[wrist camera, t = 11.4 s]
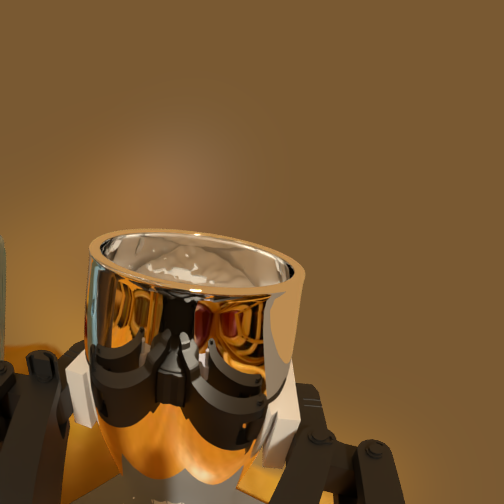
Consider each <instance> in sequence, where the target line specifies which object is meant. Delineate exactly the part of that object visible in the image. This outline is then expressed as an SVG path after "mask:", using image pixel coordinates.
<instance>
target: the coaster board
mask: <svg viewBox="0 0 504 504" xmlns="http://www.w3.org/2000/svg"><path fill="white" fill-rule="evenodd" d="M125 491H126V485H125V481H124V479H123V477H122V475H121V473H120V474H118V475H117V476H115V477H113V478H112V479H110V480H109V481H107V482H106V483H104V484H102V485H101V486H99V487H97V488H96V489H94V490H92V491H91V492H89V493H87V494H86V495H84V496H82V497H80V498H79V499H77V500H75V501H73V502H72V503H70V504H124V497H125ZM232 504H265V503H263V502H261V501H259V500H257V499H255V498H253V497H251V496H249V495H247V494H245V493H243V492H241V491H239V490H237V489H235V490H234V492H233V495H232Z"/></svg>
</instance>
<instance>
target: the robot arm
mask: <svg viewBox="0 0 504 504" xmlns="http://www.w3.org/2000/svg"><path fill="white" fill-rule="evenodd" d="M5 298H6V253H5V248H4V240H3V238H2V236H1V235H0V504H60V502H61V490H62V480H63V471H64V463H65V455H66V448H67V442H68V435H69V429H70V423H69V417H70V416H71V415H72V413H73V414H74V418H75V422H76V423H79V424H81V425H84V426H87V427H89V428H92V427H93V425H94V424H95V422H96V420H97V419H96V416H95V413H94V410H93V407H92V403H91V397H90V392H89V386H88V380H87V374H86V362H85V343H84V340H82V341H80V342H78V343H75V344H74V345H73V346H72V347H71V348H70V349H69V351H67V352H66V353H64V355H62V356H61V357H60V358H59V359H58V360H57V357H56V356H55V354H53V353H52V352H50V351H46V350H37V351H33V352H31V353H29V354H28V355H27V356H26V361H27V366H28V371H29V375H23V374H18V373H15V372H14V368H13V366H12V364H11V363H9V362H7V361H4V336H5V300H6V299H5ZM285 461H286V468H285V470H284V472H283V474H282V476H281V479H280V481H279V483H278V485H277V487H276V489H275V491H274V493H273V495H272V497H271V500H270V502H269V504H319V502H320V499H321V496H322V492H323V491H327V492H331V493H333V498H334V504H405V501H404V497H403V493H402V489H401V485H400V481H399V478H398V474H397V470H396V466H395V463H394V459H393V455H392V452H391V450H390V448H389V447H388V446H387V445H386V444H385V443H383V442H380V441H378V440H373V439H371V440H365V441H363V442H361V443H360V444H359V446H358V447H356V446H352V445H348V444H344V443H341V442H339V441H337V440H336V437H335V435H334V434H333V433H332V432H331V431H330V430H328V429H327V425H326V421H325V417H324V413H323V409H322V404H321V401H320V396H319V392H318V391H317V390H316V388H315V387H314V386H313V385H311V384H301V383H295V378H294V372H293V365H292V359H291V363H290V368H289V372H288V376H287V381H286V385H285V389H284V393H283V396H282V399H281V402H280V405H279V408H278V411H277V414H276V417H275V420H274V423H273V426H272V428H271V430H270V432H269V434H268V436H267V438H266V440H265V442H264V444H263V467H267V468H279V469H282V468H283V466H284V464H285Z"/></svg>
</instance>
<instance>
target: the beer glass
mask: <svg viewBox="0 0 504 504" xmlns="http://www.w3.org/2000/svg"><path fill="white" fill-rule="evenodd" d="M304 279H305V271H304V269H303V267H302V266H301V265H300V264H299V263H298V262H296V261H295V260H293V259H292V258H290V257H288V256H286V255H285V254H282V253H280V252H278V251H276V250H273V249H270V248H267V247H265V246H261V245H258V244H254V243H251V242H247V241H244V240H240V239H235V238H231V237H226V236H220V235H214V234H209V233H201V232H194V231H185V230H172V229H131V230H121V231H115V232H111V233H107V234H104V235H102V236H99V237H97V238H96V239H94V240H93V241H92V242H91V244H90V246H89V267H88V278H87V289H86V302H85V326H84V343H85V362H86V374H87V380H88V386H89V392H90V397H91V403H92V407H93V410H94V413H95V416H96V419H97V422H98V425H99V428H100V431H101V434H102V436H103V438H104V441H105V443H106V445H107V447H108V449H109V452H110V454H111V456H112V458H113V460H114V462H115V464H116V466H117V468H118V470H119V471H120V473H121V475H122V477H123V479H124V481H125V485H126V491H125V497H124V504H232V495H233V492H234V490H235V489H236V487H237V486H238V484H239V482H240V481H241V480H242V478H243V477H244V475H245V474H246V472H247V471H248V469H249V468H250V466H251V464H252V463H253V461H254V460H255V458H256V456H257V455H258V453H259V451H260V449H261V448H262V446H263V444H264V442H265V440H266V438H267V436H268V434H269V432H270V430H271V428H272V426H273V423H274V420H275V417H276V414H277V411H278V408H279V405H280V402H281V399H282V396H283V393H284V389H285V385H286V381H287V376H288V372H289V368H290V363H291V358H292V352H293V347H294V341H295V335H296V327H297V320H298V313H299V306H300V298H301V292H302V286H303V282H304Z"/></svg>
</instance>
